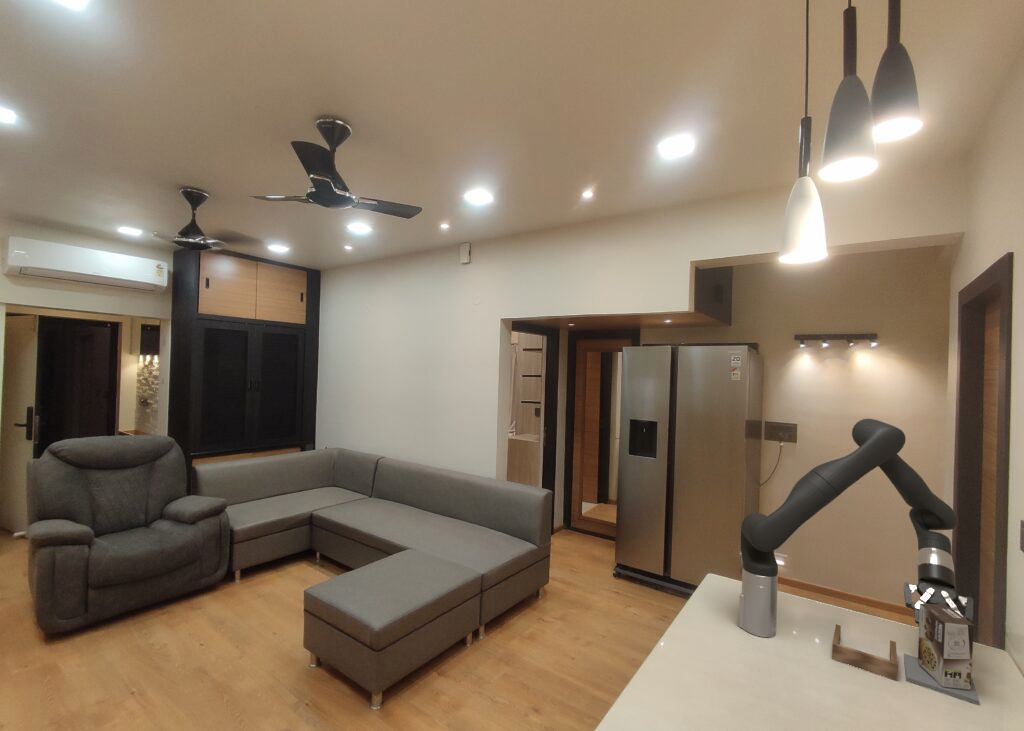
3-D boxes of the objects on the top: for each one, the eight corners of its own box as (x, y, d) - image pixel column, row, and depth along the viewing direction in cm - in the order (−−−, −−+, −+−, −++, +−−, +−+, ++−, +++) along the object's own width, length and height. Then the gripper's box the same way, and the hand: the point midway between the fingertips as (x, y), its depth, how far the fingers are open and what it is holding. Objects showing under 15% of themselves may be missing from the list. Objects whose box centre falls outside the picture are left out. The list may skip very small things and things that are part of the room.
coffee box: (972, 690, 113) (975, 625, 112) (941, 687, 114) (945, 622, 113) (944, 664, 122) (947, 603, 121) (916, 661, 123) (918, 601, 122)
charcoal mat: (906, 680, 117) (906, 676, 117) (903, 657, 127) (903, 653, 127) (979, 705, 109) (979, 700, 109) (970, 677, 119) (970, 673, 119)
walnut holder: (831, 659, 125) (832, 644, 125) (835, 638, 136) (835, 624, 136) (897, 681, 117) (897, 665, 117) (895, 656, 127) (895, 642, 127)
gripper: (902, 555, 131) (903, 614, 122) (973, 570, 123) (980, 635, 113) (901, 568, 136) (901, 626, 126) (970, 584, 127) (976, 647, 117)
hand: (939, 630), depth 120 cm, fingers closed on coffee box, 6 cm apart
